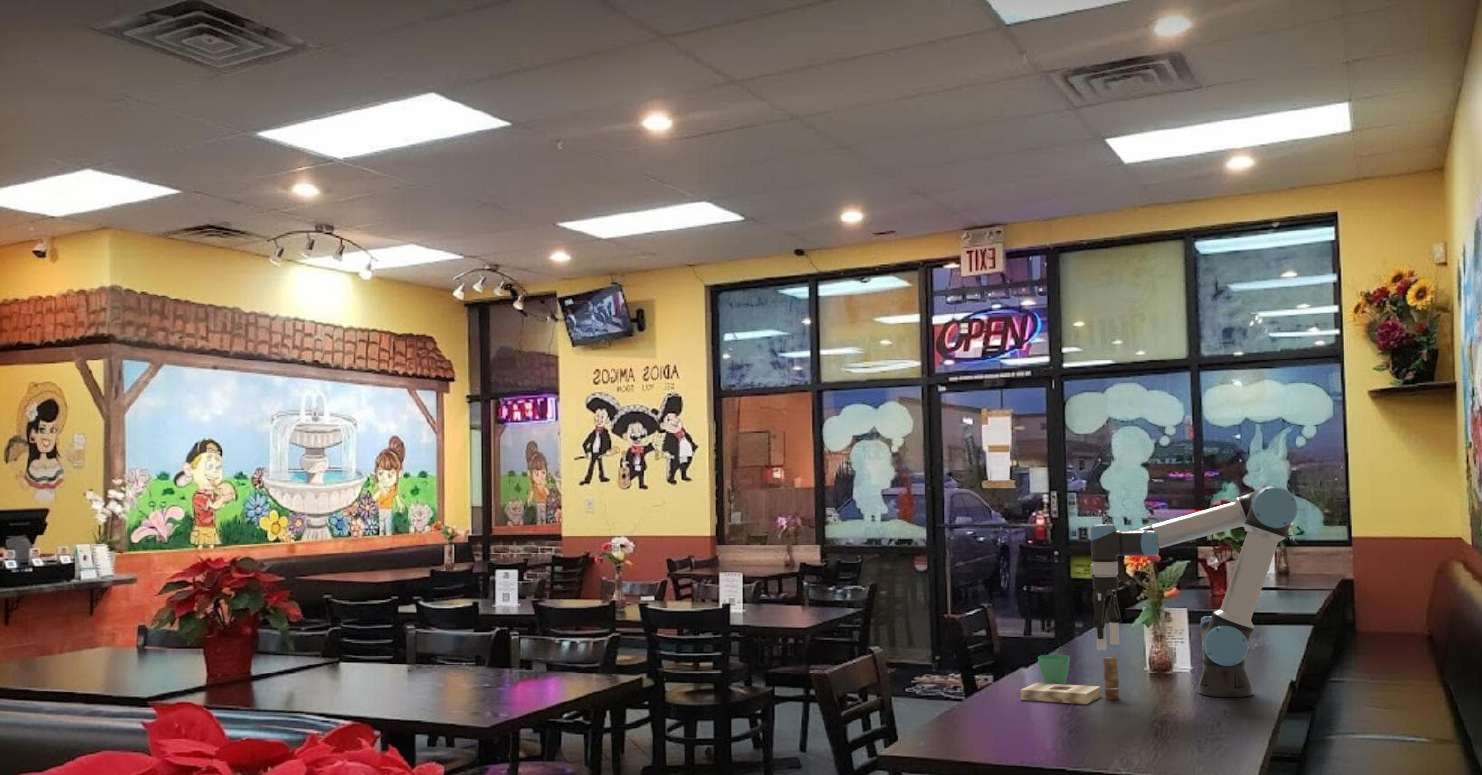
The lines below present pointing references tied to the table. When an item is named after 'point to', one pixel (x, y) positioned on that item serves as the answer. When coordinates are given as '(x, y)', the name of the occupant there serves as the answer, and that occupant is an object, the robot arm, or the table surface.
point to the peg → (1111, 678)
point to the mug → (1054, 668)
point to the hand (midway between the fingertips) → (1108, 647)
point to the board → (1061, 693)
